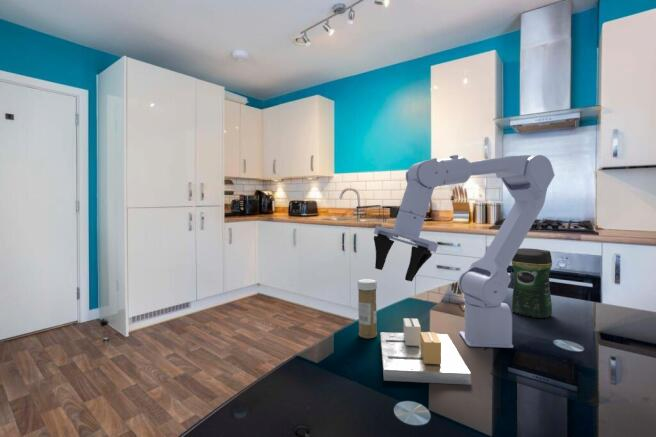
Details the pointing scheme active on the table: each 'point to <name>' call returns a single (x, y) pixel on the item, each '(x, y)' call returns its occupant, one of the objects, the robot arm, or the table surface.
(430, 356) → the fader knob orange
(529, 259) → the coffee jar
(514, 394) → the table surface
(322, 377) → the table surface
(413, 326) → the fader knob white
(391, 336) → the fader panel
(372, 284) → the sprinkles bottle
